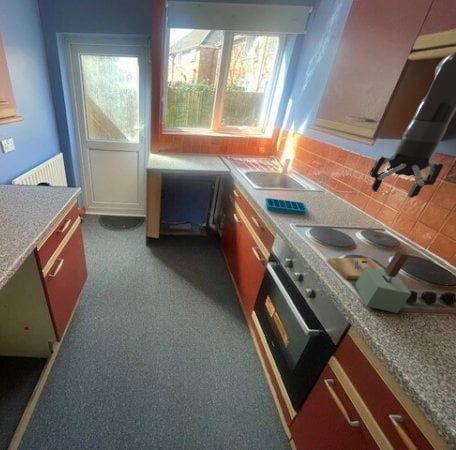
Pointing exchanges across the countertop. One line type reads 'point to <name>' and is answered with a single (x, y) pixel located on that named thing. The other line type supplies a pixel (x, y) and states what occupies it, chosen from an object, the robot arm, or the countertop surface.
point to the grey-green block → (381, 290)
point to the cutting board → (352, 266)
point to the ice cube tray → (285, 206)
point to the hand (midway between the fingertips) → (391, 193)
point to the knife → (395, 265)
